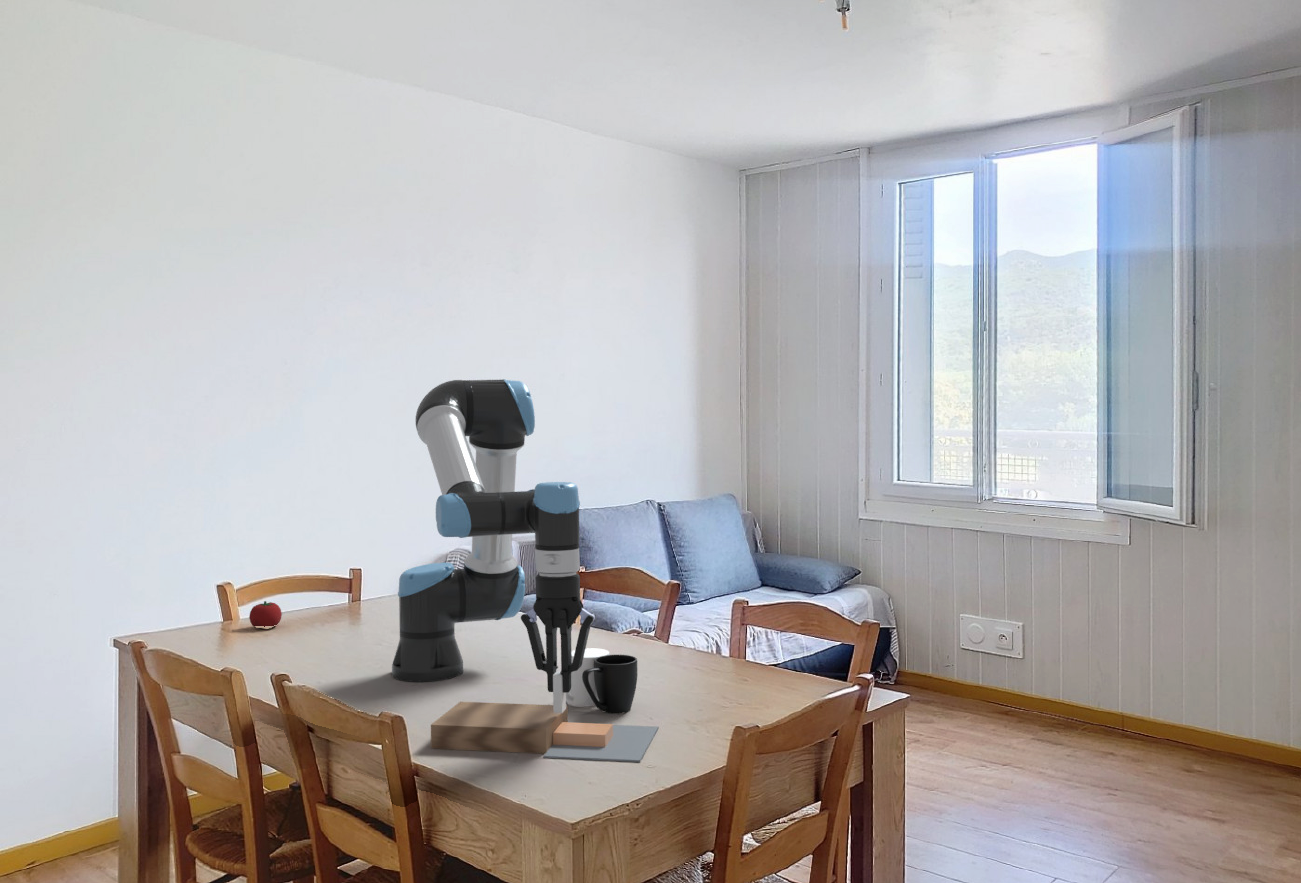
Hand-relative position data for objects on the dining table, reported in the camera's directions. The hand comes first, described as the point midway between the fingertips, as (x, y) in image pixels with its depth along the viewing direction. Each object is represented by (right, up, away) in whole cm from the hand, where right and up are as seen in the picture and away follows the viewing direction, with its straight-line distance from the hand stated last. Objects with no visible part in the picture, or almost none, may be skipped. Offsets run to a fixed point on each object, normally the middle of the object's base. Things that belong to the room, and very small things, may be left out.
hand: (559, 710), depth 177 cm
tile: (+4, -5, -1) cm, 6 cm away
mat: (+8, -5, -1) cm, 9 cm away
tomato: (-87, -4, +99) cm, 131 cm away
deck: (-10, -5, +2) cm, 12 cm away
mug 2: (+8, -5, +17) cm, 19 cm away
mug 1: (+3, -5, +24) cm, 25 cm away
